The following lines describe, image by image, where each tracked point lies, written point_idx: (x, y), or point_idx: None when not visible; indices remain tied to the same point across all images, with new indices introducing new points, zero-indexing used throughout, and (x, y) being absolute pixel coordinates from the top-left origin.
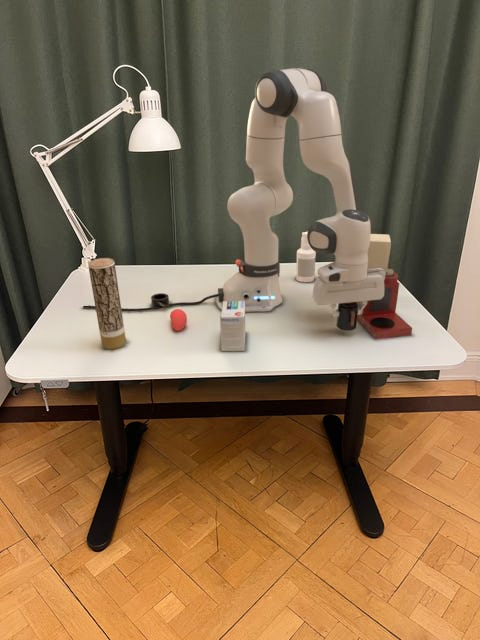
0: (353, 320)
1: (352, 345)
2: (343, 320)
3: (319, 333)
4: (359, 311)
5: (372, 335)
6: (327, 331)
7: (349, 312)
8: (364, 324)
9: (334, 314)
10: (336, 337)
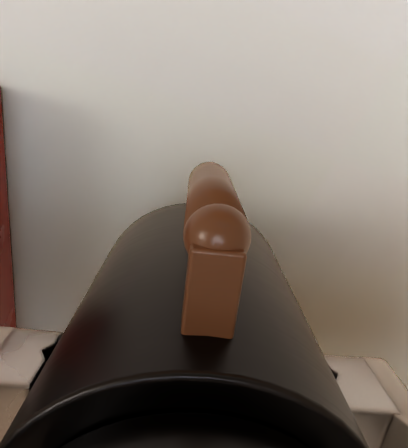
0: (213, 174)
1: (242, 52)
2: (283, 282)
3: (372, 308)
4: (14, 358)
5: (2, 147)
6: (304, 316)
7: (245, 323)
8: (4, 309)
9: (399, 389)
10: (292, 220)
